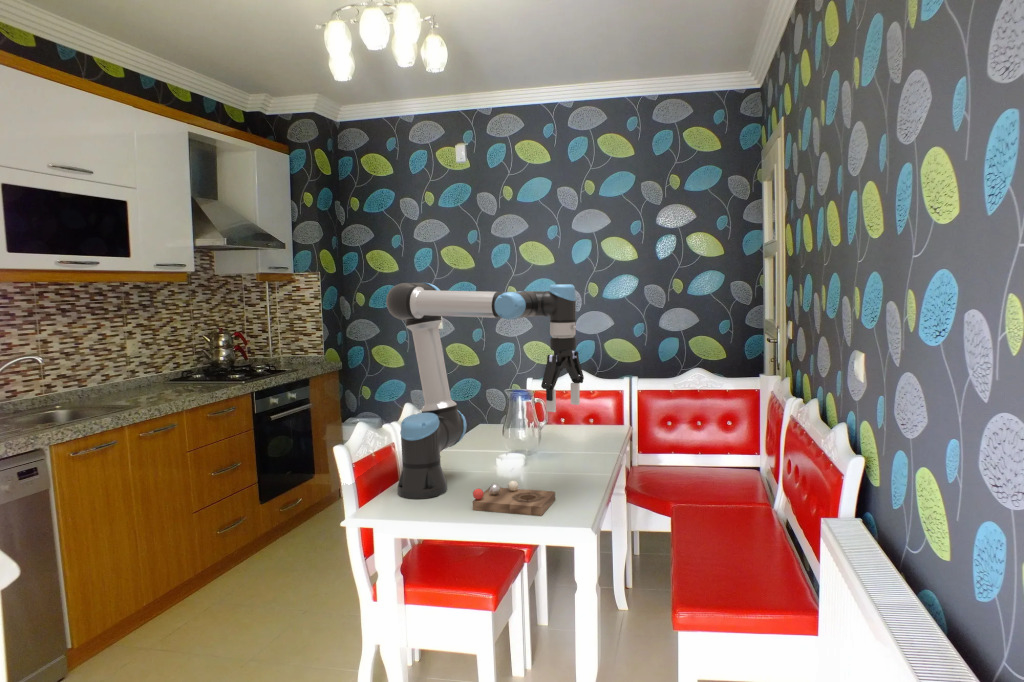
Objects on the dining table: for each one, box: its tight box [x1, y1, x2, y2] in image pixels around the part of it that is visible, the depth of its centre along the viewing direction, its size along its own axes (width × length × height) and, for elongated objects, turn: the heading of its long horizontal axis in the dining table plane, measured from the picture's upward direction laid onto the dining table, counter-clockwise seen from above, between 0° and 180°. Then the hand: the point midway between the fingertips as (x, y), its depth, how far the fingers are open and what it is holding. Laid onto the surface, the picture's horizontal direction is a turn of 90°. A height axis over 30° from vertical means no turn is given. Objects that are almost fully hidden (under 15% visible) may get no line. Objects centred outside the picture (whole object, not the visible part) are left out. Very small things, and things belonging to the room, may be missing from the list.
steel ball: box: [488, 483, 501, 495], centre depth 193 cm, size 3×3×3 cm
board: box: [472, 487, 556, 517], centre depth 191 cm, size 20×14×2 cm
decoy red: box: [472, 488, 484, 500], centre depth 189 cm, size 3×3×3 cm
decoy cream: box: [507, 480, 519, 491], centre depth 196 cm, size 3×3×3 cm
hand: (563, 408), depth 200 cm, fingers open, 13 cm apart
